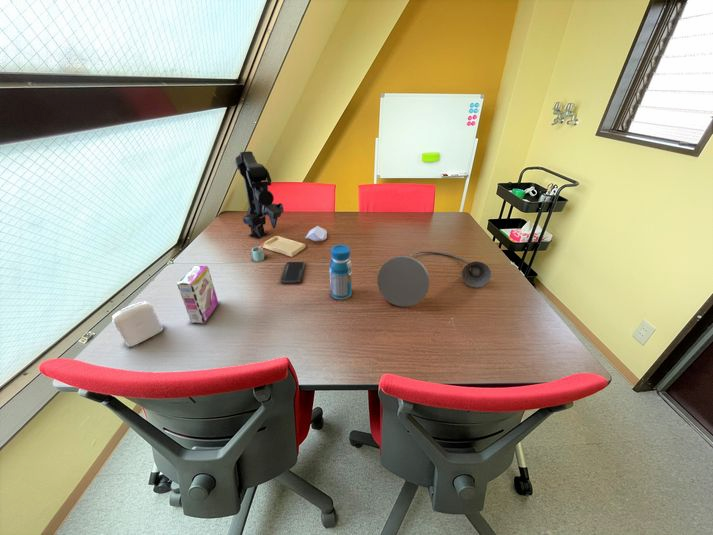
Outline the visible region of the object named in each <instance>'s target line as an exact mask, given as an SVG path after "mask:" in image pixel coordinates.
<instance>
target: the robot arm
mask: <svg viewBox="0 0 713 535" xmlns="http://www.w3.org/2000/svg"><path fill="white" fill-rule="evenodd" d="M235 167H236V170H237V171H238V173H239V174H240V175H241V177H242V178H243V182H244V183H243V184H244V188H245V193H246V197H247V204H248V208H247V210H246V215H244V216H243V217H242V221H243V224H245V225H247V226H248V228H250V232H251V234H249V237H252V238H256V239H261V238H262V237H264V236H266V235H267V232H265V227H264V225H266V223H267V222H266V216H268V218H269V221H270V225H271V227H272V229H276V228H277V221H278V218H280V217H281V216H282V214H283V213H284V212H285V211H284V204H283V203H281V202H279V203H273V202H274V200H275V198H274V193H272V192H271V190H270V189H269V187H268V186H272V178H271V175H270V172H269V171H268V168H267V167H265V166H264V164H262V163H258V161H257V160H256V157H255V155H254V154H253V151H250V150H249V151H248V150H247V151H241V152H239V154H238V155H237V156H236V157H235Z"/></svg>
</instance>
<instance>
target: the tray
mask: <svg viewBox="0 0 713 535" xmlns="http://www.w3.org/2000/svg"><path fill="white" fill-rule="evenodd" d="M264 242H265V243H264V245H263V247H262V248H263V249H266V250H268V251H269V250H270V251H273V252H276V253H279V254H282V255H285V256H288V257H291V258H293V257H294V256H296V255H297V254H298V253H300V252H301V251H303V250H304V249H306V243H304V242H300V241H297V240H293V239H290V238H287V237H284V236H280V235H274V236H273V237H271V238H269V239H268V240H266V241H264Z"/></svg>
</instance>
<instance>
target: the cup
mask: <svg viewBox="0 0 713 535" xmlns="http://www.w3.org/2000/svg"><path fill="white" fill-rule="evenodd" d="M259 248H260V246H254V247H252V248H251V253H252V260H253V261H255V262H261V261H264V259H265V254H264V253H265V252H264V248H263V247H262V248H261V250H260V251H258V250H259Z"/></svg>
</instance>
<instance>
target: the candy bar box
mask: <svg viewBox="0 0 713 535" xmlns="http://www.w3.org/2000/svg"><path fill="white" fill-rule="evenodd" d="M176 285H177V289H178V291H179V293H180V296H181V299H182V302H183V305H184V306H185V307H184V308H185V310H186V313H187V316H188V318H189V321H190V323H191V324H205V323H206V322H207V321H208V319H209V318H210V316H211V314H212V313H213V312H214V311H215V309H216V307H217V306H218V305H219V300H218V297H217V293H216V289H215V286H214V282H213V279H212V276H211V272H210V268H209V266H208V265H194V266H193V267H192V268H191V269H190V270H189V271H188V272H187V273H186V274H185V275H184V276H183V277H182V278H181V279H180V280H179V281H178V282H177V283H176Z"/></svg>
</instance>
